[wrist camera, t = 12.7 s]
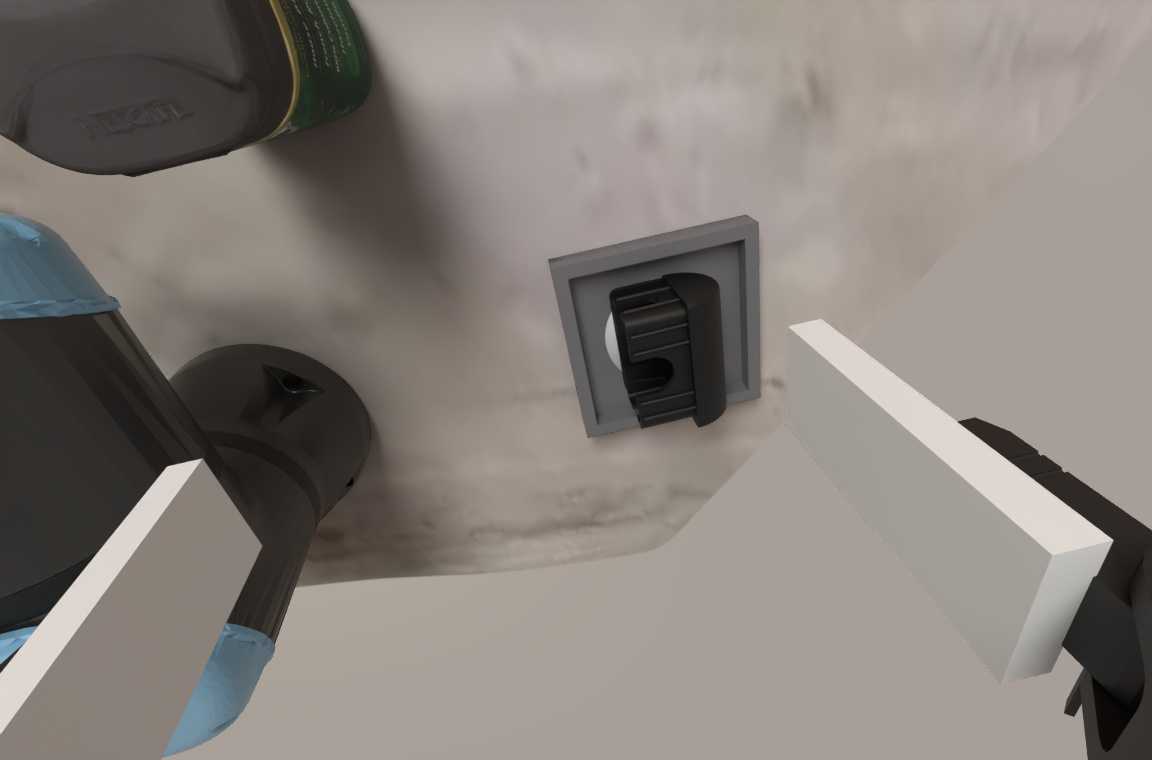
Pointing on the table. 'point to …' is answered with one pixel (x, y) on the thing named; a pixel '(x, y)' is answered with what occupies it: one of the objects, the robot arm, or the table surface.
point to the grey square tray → (597, 272)
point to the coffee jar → (172, 77)
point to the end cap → (671, 348)
